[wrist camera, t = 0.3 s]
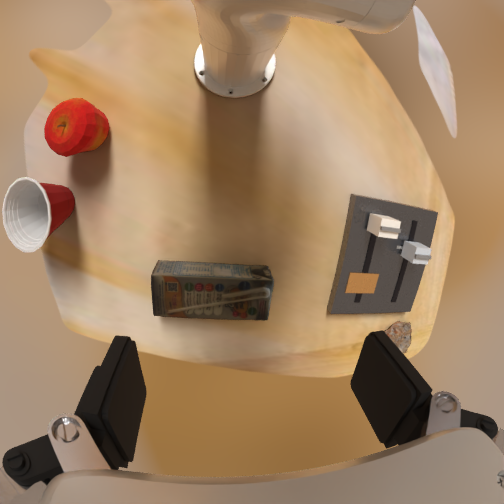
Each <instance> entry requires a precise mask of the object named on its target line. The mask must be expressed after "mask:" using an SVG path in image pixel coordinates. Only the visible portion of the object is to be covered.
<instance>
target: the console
mask: <svg viewBox="0 0 504 504" xmlns="http://www.w3.org/2000/svg"><path fill="white" fill-rule="evenodd" d="M370 213H372V214H378V215H384V216H389V217H392V218H394V219H396V220H399V221H401V224H400V229H401V233H398V238H397V239H393V238H385V237H378V236H376V235H374V234H373V233H371V232H369V231H367V226H368V221H369V216H370ZM437 215H438V212H435V211H432V210H428V209H424V208H419V207H415V206H410V205H406V204H401V203H396V202H392V201H387V200H382V199H377V198H371V197H366V196H361V195H355V194H351V197H350V203H349V209H348V215H347V220H346V226H345V231H344V236H343V241H342V246H341V251H340V255H339V260H338V265H337V269H336V274H335V278H334V282H333V286H332V290H331V295H330V299H329V303H328V306H327V309H328V311H329V312H330V314H354V313H390V312H410V311H411V308H412V305H413V302H414V299H415V296H416V293H417V290H418V287H419V284H420V281H421V278H422V274H423V271H424V268H425V264H414V263H411V262H410V261H408V260H406V259H405V258H403V257H402V256H401V253H402V249H403V245H404V241H411V242H419V243H421V244H423V245H425V246H427V247H429V248H430V246H431V242H432V237H433V233H434V229H435V224H436V220H437Z"/></svg>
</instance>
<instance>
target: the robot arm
mask: <svg viewBox="0 0 504 504" xmlns="http://www.w3.org/2000/svg"><path fill="white" fill-rule="evenodd" d="M191 1H192V3H193V5H194V7H195V11H196V15H197V21H198V27H199V34H200V40H201V44H200V46H199V47H198V49H197V51H196V54H195V57H194V67H195V72H196V75H197V77H198V79H199V81H200V82H201V83H202V84H203V86H204V87H206V88H207V89H208V90H209V91H211V92H213V93H215V94H217V95H220V96H223V97H229V98H241V97H246V96H249V95H252V94H255V93H256V92H258V91H260V90H261V89H263V88H264V87H265V86H266V85H267V84H268V83H269V81H270V80H271V78H272V76H273V74H274V72H275V68H276V57H275V54H274V52H275V51H276V49H277V47H278V45H279V44H280V42H281V40H282V38H283V37H284V35H285V33H286V31H287V30H288V27H289V24H290V17H291V16H292V17H296V16H297V17H302V18H308V19H313V20H317V21H322V22H326V23H330V24H334V25H338V26H342V27H346V28H350V29H354V30H357V31H361V32H365V33H371V34H383V33H387V32H390V31H392V30H394V29H396V28H397V27H398V26H400V25H401V24H402V23H403V21H404V20H405V19H406V17H407V16H408V14H409V13H410V11H411V9H412V7H413V5H414V3H415V1H416V0H191ZM201 74H204V75H203V76H201ZM262 80H265V82H263V81H262ZM229 92H232V94H229ZM351 388H352V390H353V392H354V394H355V396H356V398H357V399H358V402H359V403H360V405H361V407H362V409H363V411H364V413H365V415H366V417H367V418H368V420H369V422H370V424H371V426H372V428H373V430H374V432H375V434H376V436H377V437H378V439H379V441H380V442H381V443H384V445H385V447H386V448H389V447H392V446H395V445H397V444H398V445H399V446H396V447H393V448H390V449H387V450H384V451H381V452H378V453H375V454H372V455H368V456H365V457H361V458H358V459H354V460H350V461H346V462H342V463H337V464H333V465H328V466H324V467H318V468H313V469H307V470H301V471H295V472H287V473H279V474H270V475H260V476H244V477H186V476H169V475H157V474H148V473H140V472H129V471H122V470H118V469H119V467H124V468H127V466H128V462H132V461H133V458H134V453H135V447H136V442H137V436H138V432H139V427H140V422H141V417H142V413H143V408H144V403H145V398H146V386H145V382H144V378H143V374H142V370H141V366H140V361H139V357H138V352H137V347H136V343H135V341H131V338H130V337H127V336H115V337H114V339H113V341H112V343H111V345H110V348H109V350H108V352H107V354H106V356H105V358H104V360H103V362H102V365H101V366H97V367H95V369H94V371H93V373H92V375H91V377H90V379H89V382H88V384H87V386H86V388H85V390H84V393H83V395H82V397H81V399H80V402H79V404H78V406H77V409H76V411H75V414H74V415H73V414H61V415H58V416H56V417H55V418H53V419H52V420H51V422H50V423H49V425H48V434H47V435H45V436H42V437H40V438H38V439H35V440H32V441H30V442H27V443H25V444H22V445H19V446H17V447H14V448H12V449H10V450H8V451H7V452H6V453H5V455H4V458H3V466H2V467H1V468H0V504H504V430H503V429H501V428H500V430H499V431H498V427H497V424H496V423H495V421H494V420H493V419H492V418H490V417H488V416H485V415H481V414H478V413H474V412H470V411H467V410H463V409H461V405H460V402H459V400H458V398H457V397H456V396H455V395H453V394H451V393H449V392H444V391H441V392H437V393H435V394H434V395H433V396H432V394H431V392H432V389H431V387H430V386H429V385H428V384H427V382H426V381H425V380H424V379H423V378H422V376H421V375H420V374H419V372H418V371H417V370H416V369H415V368H414V366H413V365H412V364H411V363H410V361H409V360H408V359H407V358H406V357H405V355H404V354H403V353H402V352H401V351H400V350H399V348H398V347H397V346H396V345H395V344H394V342H393V341H392V340H391V339H390V338H389V337H388V335H387V334H386V333H385V332H384V331H376V332H371V333H370V334H369V335H368V336H367V337H366V338H365V341H364V344H363V347H362V350H361V353H360V356H359V359H358V362H357V365H356V368H355V371H354V374H353V377H352V379H351Z"/></svg>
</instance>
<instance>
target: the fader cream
mask: <svg viewBox="0 0 504 504" xmlns="http://www.w3.org/2000/svg"><path fill="white" fill-rule="evenodd" d="M400 224H401V221H399V220H396V219H394V218H392V217H389V216H384V215H378V214H372V213H370V216H369V221H368V226H367V231H369V232H371V233H373V234H374V235H376V236H378V237H385V238H393V239H397V238H398V233H401V229H400Z"/></svg>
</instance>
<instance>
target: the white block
mask: <svg viewBox="0 0 504 504" xmlns="http://www.w3.org/2000/svg"><path fill="white" fill-rule="evenodd" d="M430 253H431V249H430V248H429V247H427V246H425V245H423V244H421V243H419V242H411V241H404V245H403V249H402V253H401V256H402V257H403V258H405V259H406V260H408V261H410V262H411V263H414V264H428V260H429V259H431V256H430Z"/></svg>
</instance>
